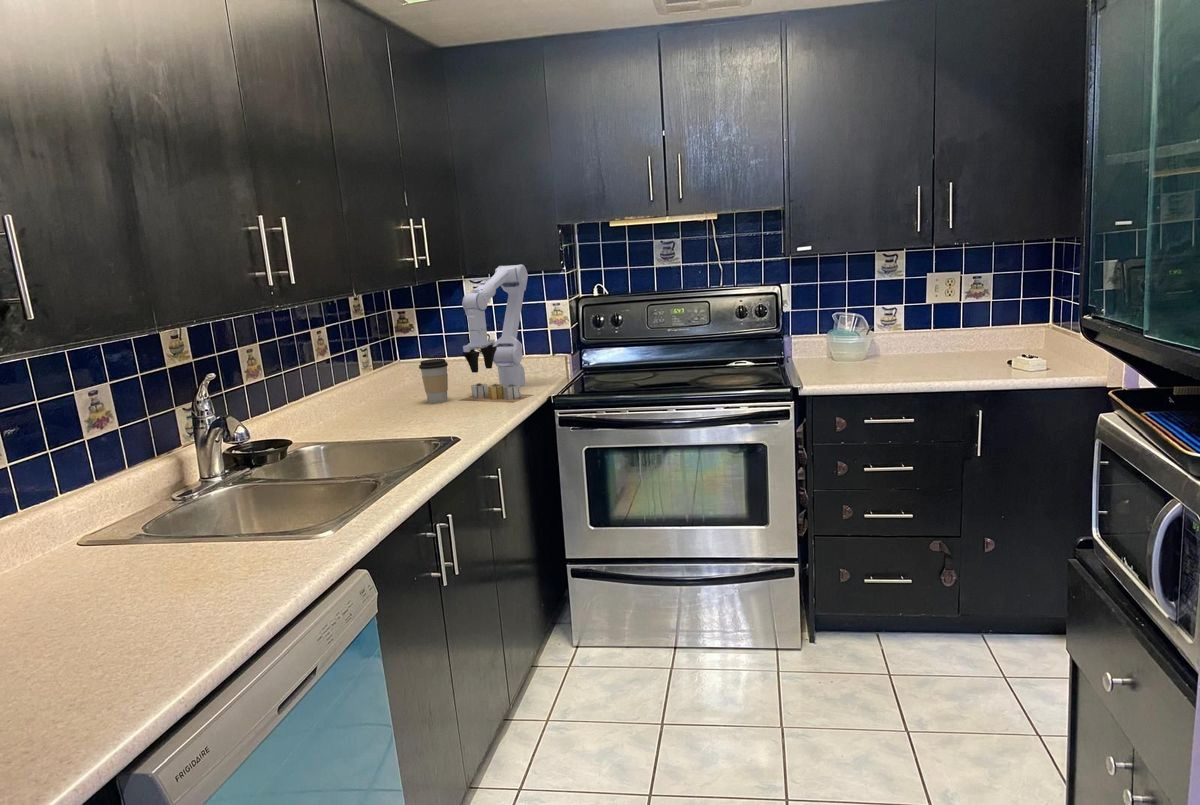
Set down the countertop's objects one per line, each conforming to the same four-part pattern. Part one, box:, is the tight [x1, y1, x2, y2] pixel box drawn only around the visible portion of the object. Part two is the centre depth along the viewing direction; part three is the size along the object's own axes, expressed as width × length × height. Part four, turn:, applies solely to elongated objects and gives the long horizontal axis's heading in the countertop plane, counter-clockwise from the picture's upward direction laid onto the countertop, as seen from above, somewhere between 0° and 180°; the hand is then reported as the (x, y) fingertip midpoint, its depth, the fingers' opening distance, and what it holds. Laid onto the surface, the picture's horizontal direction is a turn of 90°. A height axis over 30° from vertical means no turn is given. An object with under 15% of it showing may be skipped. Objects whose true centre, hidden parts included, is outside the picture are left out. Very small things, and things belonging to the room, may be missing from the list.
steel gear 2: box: [503, 384, 522, 400], centre depth 262 cm, size 5×5×4 cm
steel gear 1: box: [470, 383, 489, 399], centre depth 269 cm, size 5×5×4 cm
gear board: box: [458, 382, 534, 404], centre depth 266 cm, size 12×22×6 cm, turn 61°
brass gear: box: [487, 383, 505, 399], centre depth 265 cm, size 5×5×4 cm
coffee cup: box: [418, 358, 449, 404], centre depth 267 cm, size 9×9×15 cm
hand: (482, 370), depth 270 cm, fingers open, 7 cm apart
